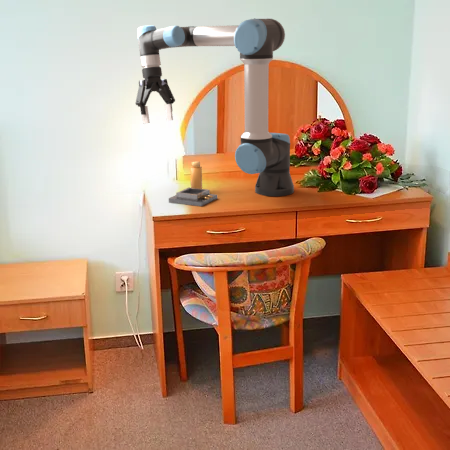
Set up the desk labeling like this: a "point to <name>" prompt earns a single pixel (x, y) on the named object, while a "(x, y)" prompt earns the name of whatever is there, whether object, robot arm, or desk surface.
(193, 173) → the wooden peg doll
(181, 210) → the desk surface
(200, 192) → the plate
